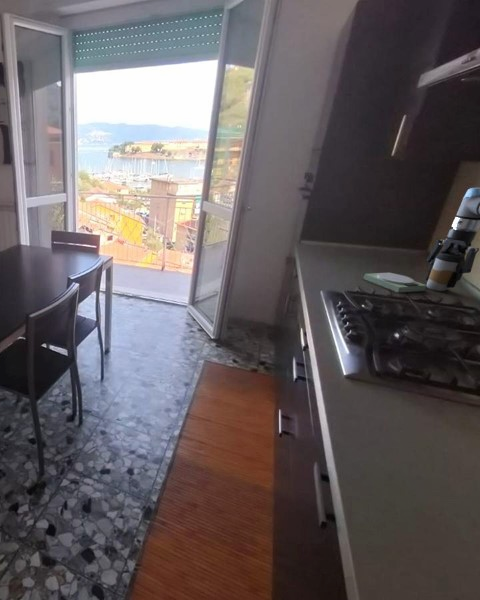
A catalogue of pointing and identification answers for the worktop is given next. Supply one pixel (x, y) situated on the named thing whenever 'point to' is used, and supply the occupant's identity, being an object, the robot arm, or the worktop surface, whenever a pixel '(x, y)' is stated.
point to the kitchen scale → (395, 282)
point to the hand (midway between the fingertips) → (439, 283)
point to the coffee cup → (443, 271)
